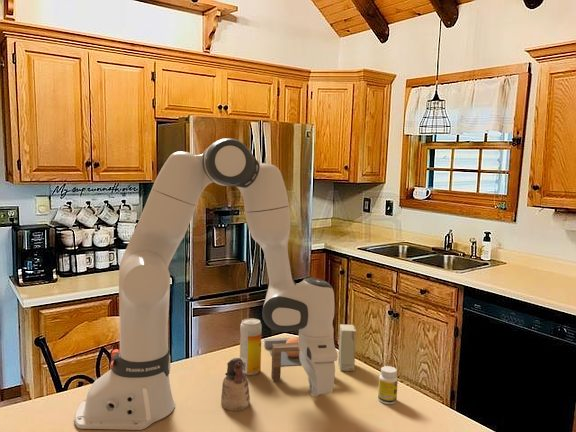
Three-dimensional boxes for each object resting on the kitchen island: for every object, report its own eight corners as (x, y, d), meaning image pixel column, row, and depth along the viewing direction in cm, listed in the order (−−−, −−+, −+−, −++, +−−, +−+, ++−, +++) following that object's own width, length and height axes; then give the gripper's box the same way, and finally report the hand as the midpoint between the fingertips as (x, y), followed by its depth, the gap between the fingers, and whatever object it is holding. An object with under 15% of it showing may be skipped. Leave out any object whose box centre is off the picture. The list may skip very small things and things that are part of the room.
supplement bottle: (396, 405, 119) (398, 374, 118) (377, 403, 120) (379, 372, 119) (396, 396, 124) (398, 366, 123) (378, 394, 125) (379, 364, 124)
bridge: (331, 377, 134) (333, 344, 133) (273, 381, 131) (274, 348, 129) (328, 373, 137) (330, 341, 136) (271, 376, 133) (272, 343, 132)
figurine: (246, 395, 122) (246, 351, 121) (252, 409, 116) (253, 362, 114) (218, 399, 120) (219, 354, 119) (224, 413, 113) (224, 365, 112)
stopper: (265, 348, 154) (265, 341, 153) (264, 346, 156) (264, 338, 155) (306, 346, 157) (306, 339, 156) (305, 344, 159) (305, 336, 158)
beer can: (264, 370, 138) (265, 320, 136) (252, 377, 133) (253, 326, 131) (248, 365, 141) (249, 316, 139) (235, 372, 136) (236, 322, 134)
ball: (283, 334, 150) (284, 352, 151) (285, 342, 144) (285, 361, 145) (302, 334, 150) (302, 351, 151) (304, 342, 144) (304, 360, 145)
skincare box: (354, 371, 139) (356, 331, 137) (339, 371, 139) (341, 331, 137) (352, 362, 145) (353, 324, 144) (337, 362, 145) (339, 323, 144)
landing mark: (275, 366, 140) (275, 365, 140) (269, 350, 152) (269, 350, 152) (314, 364, 143) (314, 363, 143) (305, 348, 154) (305, 348, 154)
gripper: (294, 328, 129) (293, 376, 130) (314, 359, 109) (312, 415, 111) (316, 327, 130) (315, 375, 132) (340, 357, 110) (337, 413, 112)
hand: (313, 393), depth 121 cm, fingers closed
